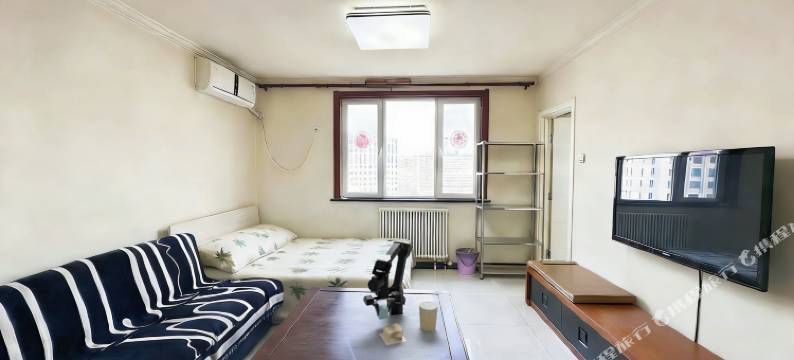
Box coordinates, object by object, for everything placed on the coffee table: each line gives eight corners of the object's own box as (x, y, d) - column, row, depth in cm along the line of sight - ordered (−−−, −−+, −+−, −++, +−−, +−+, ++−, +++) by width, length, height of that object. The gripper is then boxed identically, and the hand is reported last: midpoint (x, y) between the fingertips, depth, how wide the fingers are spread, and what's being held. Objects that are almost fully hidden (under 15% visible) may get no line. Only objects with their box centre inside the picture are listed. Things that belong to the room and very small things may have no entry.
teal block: (385, 314, 163) (385, 304, 163) (388, 318, 159) (388, 308, 158) (376, 315, 161) (376, 305, 161) (379, 319, 157) (379, 309, 157)
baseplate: (398, 332, 156) (398, 330, 156) (406, 343, 147) (406, 341, 147) (379, 335, 152) (379, 333, 152) (386, 347, 143) (386, 345, 143)
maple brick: (396, 332, 154) (397, 323, 154) (402, 339, 148) (402, 330, 147) (383, 335, 152) (383, 325, 151) (388, 342, 145) (388, 333, 145)
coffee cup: (438, 326, 163) (439, 303, 162) (434, 335, 154) (435, 311, 153) (421, 322, 166) (421, 300, 165) (416, 331, 157) (416, 307, 156)
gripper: (394, 276, 170) (393, 305, 171) (360, 280, 163) (360, 310, 164) (402, 284, 160) (401, 314, 160) (366, 289, 153) (366, 320, 154)
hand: (382, 314), depth 160 cm, fingers closed on teal block, 4 cm apart
